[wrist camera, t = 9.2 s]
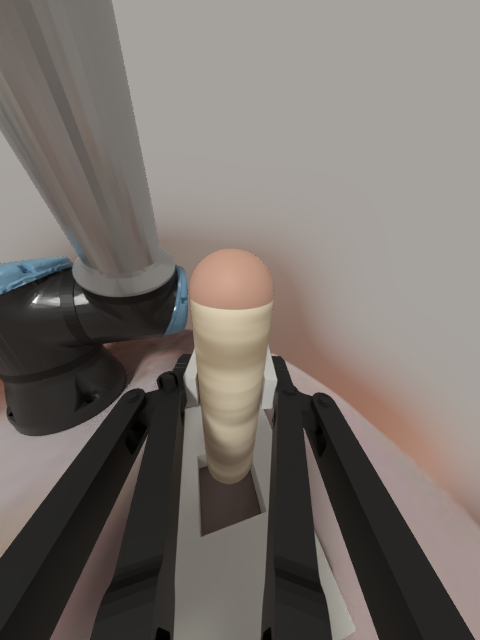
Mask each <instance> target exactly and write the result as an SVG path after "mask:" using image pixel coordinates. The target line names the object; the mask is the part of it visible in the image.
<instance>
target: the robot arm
mask: <svg viewBox="0 0 480 640" xmlns="http://www.w3.org/2000/svg"><path fill="white" fill-rule="evenodd" d="M0 130H1V132H2V133H3V135H4V137H5V138H6V140H7V141H8V143H9V145H10V146H11V148H12V149H13V151H14V153H15V154H16V156H17V158H18V159H19V161H20V162H21V164H22V165H23V167H24V169H25V170H26V172H27V174H28V175H29V177H30V179H31V180H32V182H33V183H34V185H35V186H36V188H37V189H38V191H39V193H40V195H41V196H42V198H43V199H44V201H45V203H46V204H47V206H48V208H49V209H50V211H51V212H52V214H53V215H54V217H55V219H56V220H57V222H58V224H59V225H60V227H61V229H62V230H63V232H64V233H65V235H66V236H67V238H68V240H69V241H70V243H71V245H72V246H73V248H74V249H75V251H76V253H77V254H78V258H77V259H76V261H75V262H74V264H73V263H72V262H71V261H70V259H69V258H67V257H64V256H62V257H47V258H38V259H30V260H22V261H14V262H7V263H0V378H1V380H2V381H3V382H4V388H5V398H6V404H7V418H8V420H9V422H10V423H11V424H12V425H13V426H14V427H15V429H16V430H17V431H18V432H20V433H21V434H24V435H28V436H43V435H49V434H54V433H58V432H61V431H64V430H67V429H69V428H72V427H74V426H77V425H79V424H81V423H83V422H85V421H87V420H88V419H90V418H92V417H93V416H95V415H97V414H98V413H100V412H101V411H102V410H104V409H105V408H106V407H107V406H109V405H110V404H111V403H112V402H113V401H114V400H115V399H116V398H117V397H118V396H119V394H120V393H121V392H122V390H123V388H124V386H125V384H126V380H127V376H126V372H125V370H124V367H123V365H122V364H121V362H120V361H118V360H117V359H116V358H115V357H114V356H113V355H112V354H111V353H110V352H109V351H108V350H107V349H106V348H105V347H104V345H103V344H106V343H113V342H121V341H129V340H137V339H145V338H153V337H164V336H166V335H170V334H176V333H179V332H181V331H182V330H183V329H184V328H185V326H186V322H187V315H188V302H187V295H188V289H187V278H186V273H185V270H184V268H183V267H181V266H177V265H175V262H174V259H173V257H172V256H171V254H170V253H169V252H168V251H166V250H165V249H164V248H162V247H160V244H159V238H158V233H157V229H156V223H155V218H154V213H153V209H152V203H151V198H150V193H149V188H148V183H147V178H146V173H145V167H144V162H143V157H142V152H141V147H140V143H139V137H138V132H137V127H136V122H135V117H134V112H133V107H132V101H131V96H130V91H129V86H128V81H127V76H126V71H125V66H124V61H123V56H122V51H121V46H120V41H119V35H118V30H117V25H116V20H115V15H114V10H113V5H112V0H0ZM157 384H158V388H159V389H158V390H155V391H151V392H147V393H145V391H144V390H143V389H139V388H138V389H133V390H130V391H128V392H126V393H125V394H124V395H123V396H122V397H121V398H120V400H119V401H118V402H117V404H116V405H115V406H114V408H113V409H112V410H111V412H110V413H109V414H108V416H107V417H106V418H105V420H104V421H103V422H102V424H101V425H100V426H99V428H98V429H97V430H96V432H95V433H94V434H93V436H92V437H91V438H90V440H89V441H88V442H87V444H86V445H85V446H84V448H83V449H82V450H81V452H80V453H79V454H78V456H77V457H76V458H75V460H74V461H73V462H72V464H71V465H70V466H69V468H68V469H67V470H66V472H65V473H64V474H63V476H62V477H61V478H60V480H59V481H58V482H57V483H56V485H55V486H54V487H53V489H52V490H51V491H50V493H49V494H48V495H47V497H46V498H45V499H44V501H43V502H42V503H41V505H40V506H39V507H38V509H37V510H36V511H35V513H34V514H33V515H32V517H31V518H30V519H29V521H28V522H27V523H26V525H25V526H24V527H23V529H22V530H21V531H20V533H19V534H18V535H17V537H16V538H15V539H14V541H13V542H12V543H11V545H10V546H9V547H8V549H7V550H6V551H5V553H4V554H3V555H2V557H1V558H0V640H49V639H50V637H51V635H52V633H53V631H54V629H55V627H56V625H57V623H58V621H59V618H60V616H61V614H62V612H63V610H64V608H65V606H66V604H67V602H68V600H69V598H70V595H71V593H72V591H73V589H74V587H75V585H76V583H77V581H78V579H79V577H80V575H81V573H82V570H83V568H84V566H85V564H86V562H87V560H88V558H89V556H90V554H91V552H92V550H93V548H94V545H95V543H96V541H97V539H98V537H99V535H100V533H101V531H102V529H103V527H104V525H105V522H106V520H107V518H108V516H109V514H110V512H111V510H112V508H113V506H114V504H115V502H116V500H117V497H118V495H119V493H120V491H121V489H122V487H123V485H124V483H125V481H126V479H127V477H128V474H129V472H130V470H131V468H132V466H133V464H134V462H135V460H136V458H137V456H138V454H139V452H140V449H141V447H142V445H143V443H144V441H145V439H146V437H147V435H148V437H147V441H146V445H145V450H144V454H143V458H142V462H141V466H140V470H139V474H138V478H137V483H136V487H135V491H134V495H133V499H132V503H131V507H130V512H129V516H128V520H127V524H126V528H125V532H124V536H123V541H122V545H121V549H120V553H119V557H118V561H117V565H116V569H115V573H114V577H113V579H112V582H111V584H110V586H109V587H108V589H107V591H106V593H105V594H104V596H103V599H102V601H101V604H100V607H99V610H98V613H97V616H96V620H95V623H94V627H93V631H92V634H91V638H90V640H173V636H174V619H175V567H176V551H177V535H178V520H179V504H180V489H181V473H182V457H183V442H184V426H185V406H186V403H187V407H199V403H200V393H199V383H198V374H197V364H196V354H195V348H194V351H193V354H183V355H182V356H181V357H180V358H179V359H178V361H177V364H176V365H175V368H174V369H173V371H168V372H165V373H163V374H161V375H160V376H159V377H158V378H157ZM260 403H261V409H272V407H274V414H273V419H272V422H273V430H272V450H271V470H270V490H269V510H268V530H267V550H266V570H265V585H264V594H263V605H262V622H261V640H332V632H331V624H330V618H329V611H328V606H327V601H326V597H325V594H324V591H323V588H322V586H321V582H320V577H319V570H318V561H317V551H316V542H315V533H314V524H313V515H312V506H311V496H310V487H309V478H308V469H307V460H306V450H305V441H304V432H303V428H305V431H306V434H307V437H308V439H309V442H310V445H311V448H312V451H313V454H314V456H315V459H316V462H317V465H318V468H319V471H320V473H321V476H322V479H323V482H324V485H325V488H326V490H327V493H328V496H329V499H330V502H331V505H332V507H333V510H334V513H335V516H336V519H337V522H338V524H339V527H340V530H341V533H342V536H343V539H344V541H345V544H346V547H347V550H348V553H349V556H350V558H351V561H352V564H353V567H354V570H355V572H356V575H357V578H358V581H359V584H360V587H361V589H362V592H363V595H364V598H365V601H366V604H367V606H368V609H369V612H370V615H371V618H372V621H373V623H374V626H375V629H376V632H377V635H378V638H379V640H475V639H474V637H473V635H472V634H471V632H470V630H469V628H468V627H467V625H466V623H465V622H464V620H463V618H462V617H461V615H460V613H459V611H458V610H457V608H456V606H455V605H454V603H453V601H452V600H451V598H450V596H449V595H448V593H447V591H446V589H445V588H444V586H443V584H442V583H441V581H440V579H439V578H438V576H437V574H436V572H435V571H434V569H433V567H432V566H431V564H430V562H429V561H428V559H427V557H426V556H425V554H424V552H423V550H422V549H421V547H420V545H419V544H418V542H417V540H416V539H415V537H414V535H413V533H412V532H411V530H410V528H409V527H408V525H407V523H406V522H405V520H404V518H403V517H402V515H401V513H400V511H399V510H398V508H397V506H396V505H395V503H394V501H393V500H392V498H391V496H390V494H389V493H388V491H387V489H386V488H385V486H384V484H383V483H382V481H381V479H380V478H379V476H378V474H377V472H376V471H375V469H374V467H373V466H372V464H371V462H370V461H369V459H368V457H367V455H366V454H365V452H364V450H363V449H362V447H361V445H360V444H359V442H358V440H357V439H356V437H355V435H354V433H353V432H352V430H351V428H350V427H349V425H348V423H347V422H346V420H345V418H344V416H343V415H342V413H341V411H340V410H339V408H338V406H337V405H336V403H335V401H334V400H333V399H332V398H331V397H330V396H329V395H327V394H325V393H320V392H318V393H315V394H314V395H313V396H310V395H306V394H303V393H301V392H299V391H298V389H297V388H296V387H295V386H294V385H293V383H292V380H291V378H290V375H289V372H288V370H287V366H286V363H285V361H284V360H283V358H281V356H271V354H270V350H269V346H268V347H267V355H266V362H265V370H264V377H263V385H262V392H261V400H260Z"/></svg>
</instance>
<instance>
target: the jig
mask: <svg viewBox="0 0 480 640" xmlns="http://www.w3.org/2000/svg"><path fill="white" fill-rule="evenodd" d="M271 450H272V428H271V426H270V424H269V421H268V419H267V416H266V414H265V412H264V409H261V403H260V407H259V415H258V422H257V430H256V437H255V445H254V452H253V460H252V465H251V468H250V471H251V475H252V478H253V482H254V486H255V490H256V494H257V498H258V502H259V506H260V510H261V514H259V515H257V516H254V517H251V518H249V519H246V520H244V521H241V522H238V523H236V524H233V525H231V526H228V527H225V528H223V529H220V530H218V531H215V532H212V533H210V534H207V535H205V536H202V531H201V506H200V481H199V468H203V467H206V466H207V461H206V451H205V442H204V432H203V422H202V412H201V406H199V407H192V408H187V409H185V426H184V442H183V457H182V473H181V489H180V504H179V520H178V535H177V551H176V567H175V619H174V636H173V640H261V622H262V605H263V594H264V585H265V570H266V550H267V530H268V510H269V490H270V470H271ZM314 533H315V531H314ZM315 542H316V551H317V561H318V570H319V577H320V582H321V586H322V588H323V591H324V594H325V597H326V601H327V606H328V611H329V618H330V624H331V632H332V640H343V639H344V638H346V637H347V636H349V635H350V634H352V633H353V632H355V631H356V628H355V626H354V624H353V621H352V619H351V617H350V614H349V612H348V609H347V607H346V605H345V602H344V600H343V597H342V595H341V593H340V590H339V588H338V586H337V583H336V581H335V578H334V576H333V574H332V571H331V569H330V566H329V564H328V562H327V559H326V557H325V555H324V552H323V550H322V547H321V545H320V543H319V540H318V538H317V536H316V533H315Z"/></svg>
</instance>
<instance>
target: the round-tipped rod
mask: <svg viewBox="0 0 480 640" xmlns="http://www.w3.org/2000/svg"><path fill="white" fill-rule="evenodd" d="M189 296H190V305H191V315H192V325H193V335H194V345H195V354H196V364H197V374H198V383H199V393H200V403H201V412H202V422H203V432H204V442H205V451H206V461H207V466H208V469H209V472H210V473H211V475H212V476H213V477H214V478H215V479H216V480H217V481H219V482H221V483H224V484H234V483H237V482H239V481H240V480H242V479H243V478H244V477H245V476H246V475H247V473H248V472H249V470H250V468H251V465H252V460H253V452H254V445H255V437H256V430H257V422H258V415H259V407H260V400H261V392H262V385H263V377H264V370H265V362H266V355H267V347H268V339H269V332H270V324H271V316H272V310H273V302H274V283H273V279H272V276H271V274H270V272H269V270H268V268H267V267H266V266H265V264H264V263H263V262H262V261H261V260H260V259H259V258H257V257H256V256H255V255H253V254H251V253H249V252H247V251H244V250H240V249H223V250H219V251H216V252H214V253H212V254H210V255H209V256H207V257H206V258H204V259H203V260H202V261H201V262H200V264H199V265H198V266H197V267H196V269H195V271H194V273H193V275H192V278H191V282H190V288H189Z"/></svg>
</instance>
